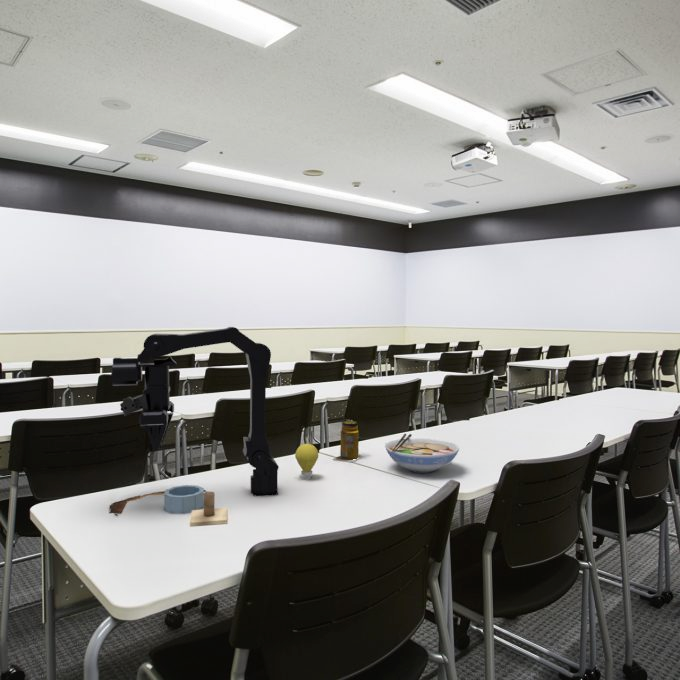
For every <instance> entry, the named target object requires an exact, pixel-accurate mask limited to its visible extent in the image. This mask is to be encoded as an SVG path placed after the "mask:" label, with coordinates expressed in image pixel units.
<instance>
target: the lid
mask: <svg viewBox="0 0 680 680" xmlns="http://www.w3.org/2000/svg"><path fill="white" fill-rule="evenodd" d="M223 524H228V508H227V507H218V508H215V491H206V492H204V506H203V508H202V509H200V510H192V512H191V513H190V518H189V527H193V526H194V527H196V526H197V527H198V526H210V525H223Z"/></svg>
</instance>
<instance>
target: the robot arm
mask: <svg viewBox="0 0 680 680" xmlns="http://www.w3.org/2000/svg"><path fill="white" fill-rule="evenodd" d="M226 343H230V344H232V345H233V346H235V347H236V348H237V349H238V350H240V351H241V352H243V353H244V354H245V358H246V365H247V369H248V373H249V377H250V380H249V381H250V387H249V389H250V390H249V391H250V394H249V395H250V397H249V399H250V400H249V402H250V404H249V407H250V409H249V417H250V418H249V421H250V422H249V433H248V436H243V437H242V439H243V440H242V441H243V449H242V453H243V455H244V457H245V458H246V460H247V462H248V464H249V466H251V467H253V469H252V474H251V475H250V494H252V496H253V497H267V496H278V495H279V492H278V471H279V464H278V463H277V461H276V460H275V459H274V457H273V456H271V452H270V448H269V447H270V446H269V442H268V437H267V433H266V394H267V392H266V385H267V383H266V382H267V381H266V380H267V375H268V372H269V370H270V363H271V357H272V354H271V353H272V352H271V350H270V347H268V346H267V345H265V344H263V343H261V342H255V341H254V340H252V339H251V338H249V337H248V336H247V335H246V334H244V333H242V332H241V331H240V330H239V329H238V328H237V327H234V326H228V327H226V328H219V329H211V330H206V331H205V330H204V331H198V332H197V331H196V332H191V333H190V332H189V333H184V334H183V333H181V334H179V333H153V334H150V335H149V336H147V337H146V338H145V340H144V342H143V350H142V351H141V352H140V353H139V354H137V357H127V358H126V357H125V358H124V357H114V358H112V368H111V369H112V370H111V372H110V373H111V374H110V375H111V385H112V386H113V387H114V386H115V387H119V386H138V385H139V384H138V382H140V381H143V368H144V389H143V390H142V394H141V395H137V396H134V397H131V396H128V397H127V398H126V397H125V398H123V399H122V402H121V403H120V404H119V406H120V411H121V412H122V413H123V415H124V417H126V416H129V415H131V414H132V413H135V412H137V411H140V410H142V413H141V414H140V415H138V425H140V427H141V428H143V429H145V430H146V431H147V434H148V436H149V440H150V444H151V448H152V451H153V452H159V449H160V448H161V444H162V443H164V440H165V437H166V434H167V431H168V429H169V426H170V424H171V421H172V419H173V416H174V413H175V403H173V401H170V392H171V386H170V369H169V368H170V367H175V366H177V362H176V361H175V360H174V359H173V358H172V356H171V354H173V353H176V352H178V351H182V350H185V349H191V348H192V349H193V348H198V347H207V346H211V345H219V344H226ZM167 355H169V356H168V357H167V358H161V357H164V356H167ZM152 358H158V359H153V360H154V361H153V363H151V362H150V363H146V362H147V361H149V360H150V359H152ZM159 358H161V359H159Z"/></svg>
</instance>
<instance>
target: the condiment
mask: <svg viewBox="0 0 680 680" xmlns="http://www.w3.org/2000/svg"><path fill="white" fill-rule="evenodd" d="M358 424H359V423H358V421H352V420H346V421H342V422H341V430H340V455H339V456H336V457H334V458H333V460H334V461H335V460H336V461H340V462H349V463H355V462H356V461H358V460H359V459H357V458H358V457H359V456H360V457H361V458H363V455H359V443H360V442H359V437H360V436H359V433H360V432H359V429H358ZM353 459H356V460H353Z"/></svg>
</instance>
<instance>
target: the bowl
mask: <svg viewBox="0 0 680 680" xmlns="http://www.w3.org/2000/svg"><path fill="white" fill-rule="evenodd" d="M204 490H205V488H204V487H202V486H200V485H195V484H194V485H193V484H191V485H190V484H185V485H184V484H183V485H179V486H178V485H177V486H172V487H170V488H168V489H165V490H164V491H165V493H164V494H163V499H164V500H163V506H164V507H163V508H164V511H165V512H167V513H170V514H176V515H177V514H178V515H179V514H180V515H182V514H183V515H185V514H191V512H192V510H201V509H204V493H205V492H204Z"/></svg>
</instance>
